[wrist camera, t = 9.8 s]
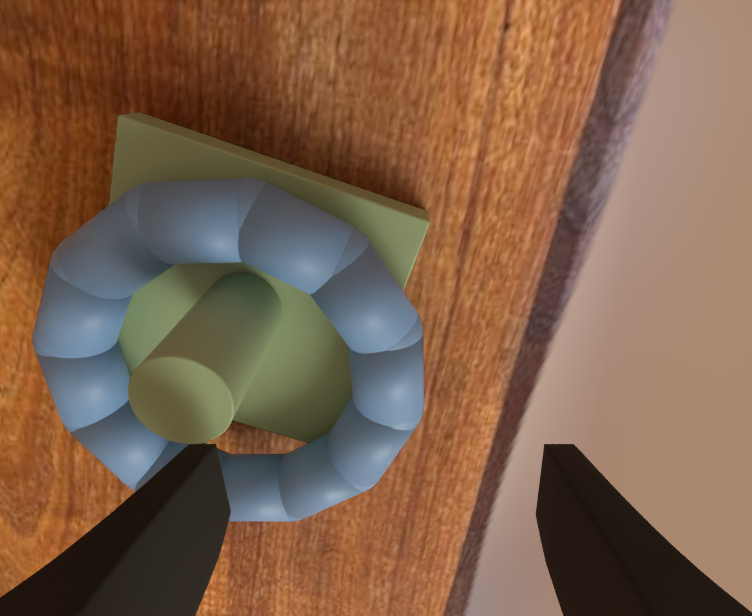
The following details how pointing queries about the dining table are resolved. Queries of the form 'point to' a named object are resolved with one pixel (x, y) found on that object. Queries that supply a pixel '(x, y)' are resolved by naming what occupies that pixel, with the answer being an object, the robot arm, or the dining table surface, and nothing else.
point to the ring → (272, 256)
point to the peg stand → (241, 302)
